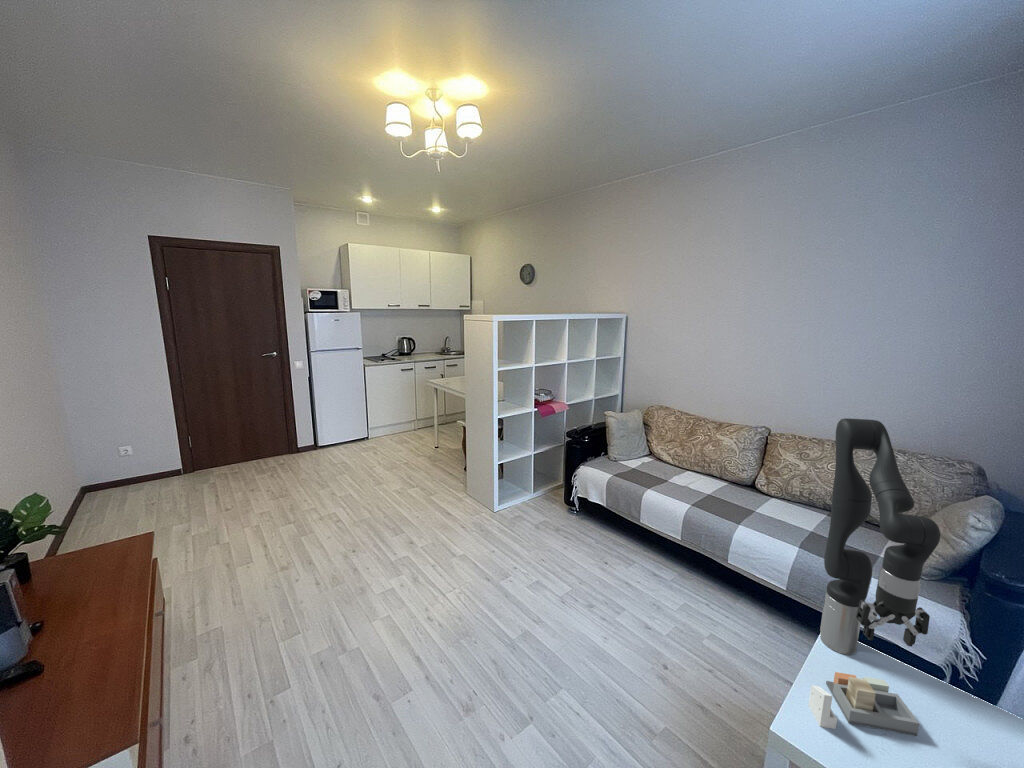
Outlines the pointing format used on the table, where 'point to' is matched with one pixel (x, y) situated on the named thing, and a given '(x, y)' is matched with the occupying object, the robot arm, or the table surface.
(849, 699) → the tan rectangular block
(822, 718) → the white angled block
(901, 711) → the socket block
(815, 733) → the table surface
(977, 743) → the table surface
